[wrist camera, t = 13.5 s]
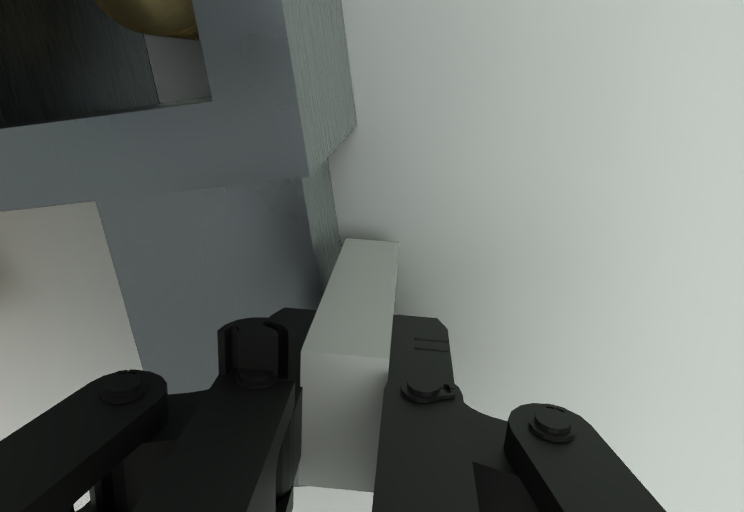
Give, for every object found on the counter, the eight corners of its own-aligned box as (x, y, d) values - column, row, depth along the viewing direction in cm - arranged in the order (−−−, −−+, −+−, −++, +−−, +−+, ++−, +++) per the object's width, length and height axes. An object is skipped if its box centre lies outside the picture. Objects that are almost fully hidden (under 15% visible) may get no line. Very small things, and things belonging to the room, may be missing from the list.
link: (392, 399, 19) (379, 616, 12) (194, 413, 20) (63, 625, 12) (320, -157, 14) (217, -407, 7) (60, -112, 15) (-298, -292, 7)
